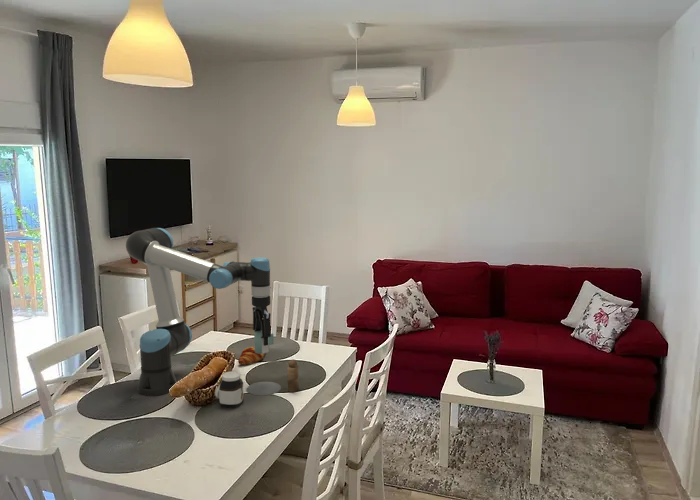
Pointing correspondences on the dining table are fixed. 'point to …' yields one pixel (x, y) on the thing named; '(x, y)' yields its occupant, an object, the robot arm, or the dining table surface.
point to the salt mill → (293, 376)
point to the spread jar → (230, 389)
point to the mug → (259, 342)
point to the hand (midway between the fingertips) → (262, 350)
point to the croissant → (249, 356)
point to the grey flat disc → (263, 388)
